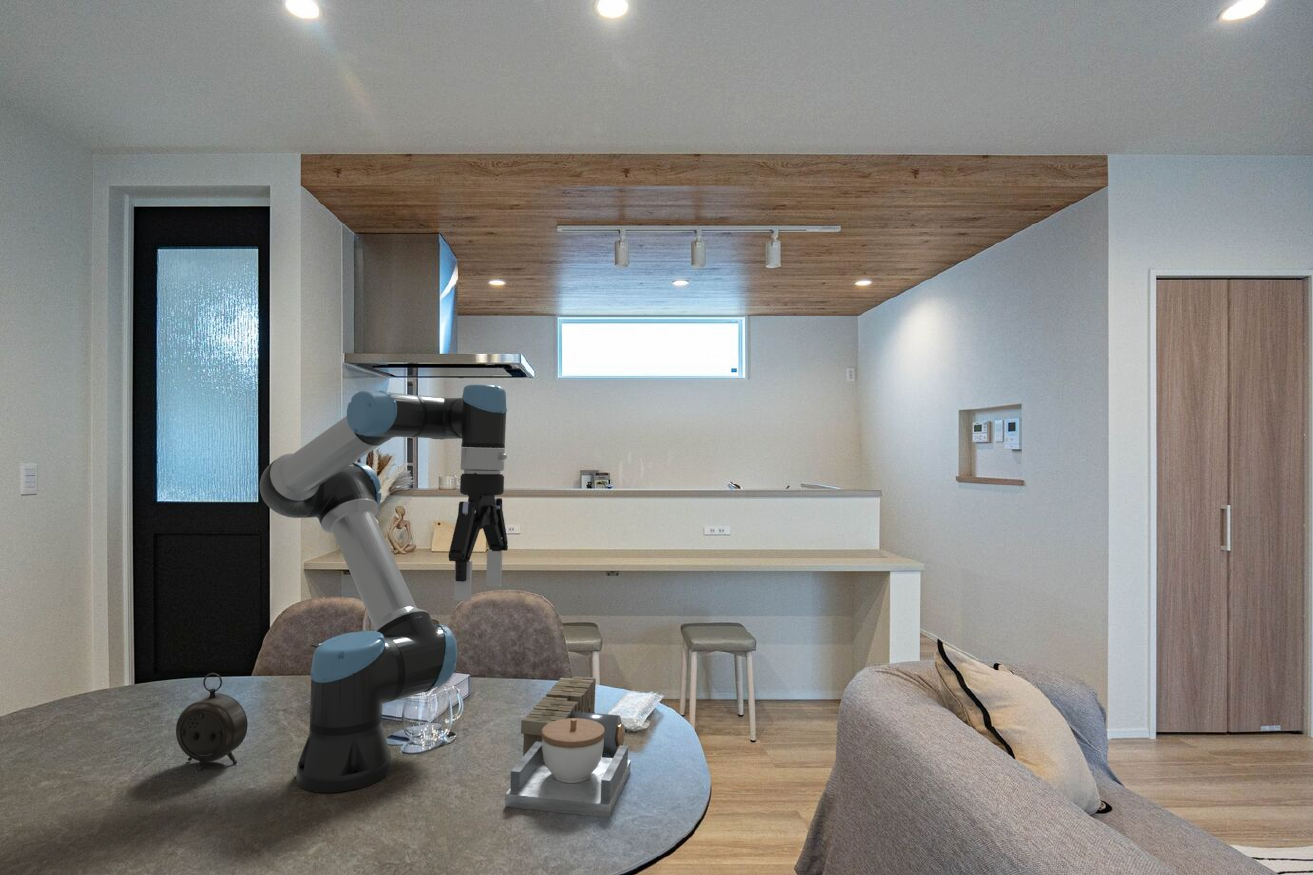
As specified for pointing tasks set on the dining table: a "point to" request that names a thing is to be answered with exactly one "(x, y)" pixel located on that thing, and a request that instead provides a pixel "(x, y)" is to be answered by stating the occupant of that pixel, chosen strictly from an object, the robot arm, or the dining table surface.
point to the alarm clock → (211, 727)
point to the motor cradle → (584, 798)
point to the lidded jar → (572, 748)
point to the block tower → (558, 706)
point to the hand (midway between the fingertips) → (478, 593)
